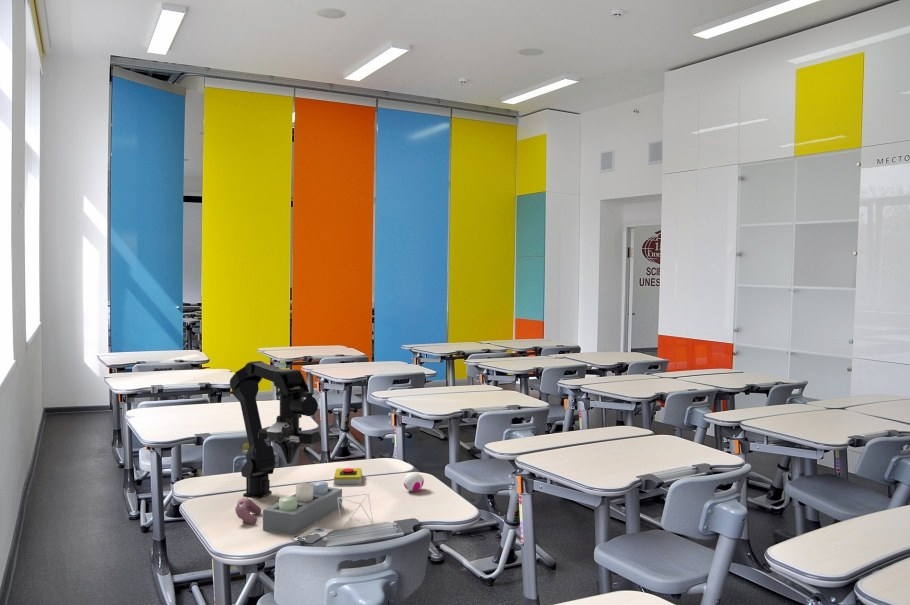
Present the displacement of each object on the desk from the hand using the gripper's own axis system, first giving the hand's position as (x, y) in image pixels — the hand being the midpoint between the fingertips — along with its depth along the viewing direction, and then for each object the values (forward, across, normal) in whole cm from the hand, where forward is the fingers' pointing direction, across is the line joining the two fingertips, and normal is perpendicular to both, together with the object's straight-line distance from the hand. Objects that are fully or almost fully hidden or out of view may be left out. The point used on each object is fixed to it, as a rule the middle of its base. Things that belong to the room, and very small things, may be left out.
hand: (289, 463), depth 208 cm
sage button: (+11, +10, -15) cm, 21 cm away
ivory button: (+9, +10, -7) cm, 15 cm away
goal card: (+13, +20, -18) cm, 30 cm away
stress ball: (+13, +28, +29) cm, 43 cm away
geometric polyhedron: (+13, +26, -6) cm, 30 cm away
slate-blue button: (+11, +10, +1) cm, 15 cm away
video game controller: (+13, -4, -14) cm, 20 cm away
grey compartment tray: (+13, +10, -7) cm, 18 cm away
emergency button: (+14, +2, +32) cm, 34 cm away
